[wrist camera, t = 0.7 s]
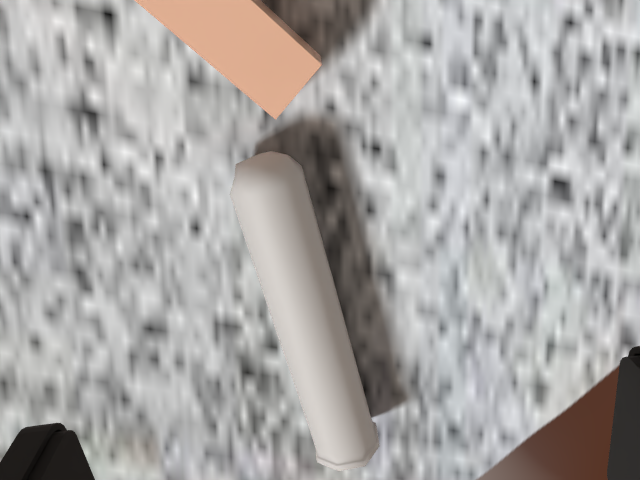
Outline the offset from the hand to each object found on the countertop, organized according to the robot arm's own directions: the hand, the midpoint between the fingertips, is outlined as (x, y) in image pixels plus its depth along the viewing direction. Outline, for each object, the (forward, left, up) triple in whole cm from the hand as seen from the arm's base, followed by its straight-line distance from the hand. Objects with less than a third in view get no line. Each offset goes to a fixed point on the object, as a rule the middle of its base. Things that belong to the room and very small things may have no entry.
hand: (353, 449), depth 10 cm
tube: (+12, +9, -29) cm, 33 cm away
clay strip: (0, -10, -29) cm, 31 cm away
